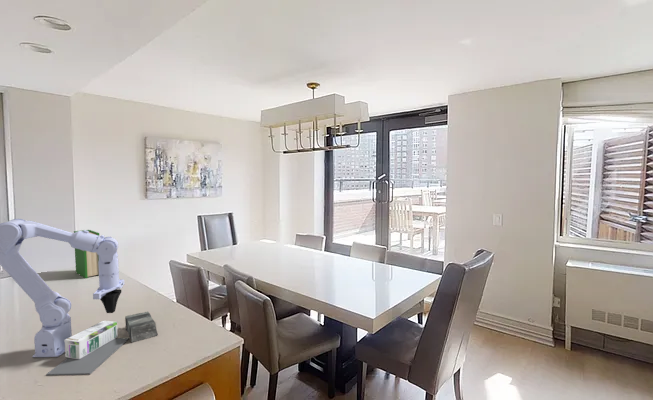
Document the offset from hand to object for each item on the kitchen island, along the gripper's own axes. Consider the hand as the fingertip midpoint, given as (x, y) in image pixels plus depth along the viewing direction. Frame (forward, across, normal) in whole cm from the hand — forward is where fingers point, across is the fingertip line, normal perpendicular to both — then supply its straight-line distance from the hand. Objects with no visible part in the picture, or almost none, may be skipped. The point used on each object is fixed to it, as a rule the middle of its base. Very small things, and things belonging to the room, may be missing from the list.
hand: (110, 312), depth 115 cm
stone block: (+10, +5, -8) cm, 14 cm away
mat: (+9, -11, 0) cm, 14 cm away
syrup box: (+6, +1, +1) cm, 6 cm away
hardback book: (+10, +78, +58) cm, 97 cm away
